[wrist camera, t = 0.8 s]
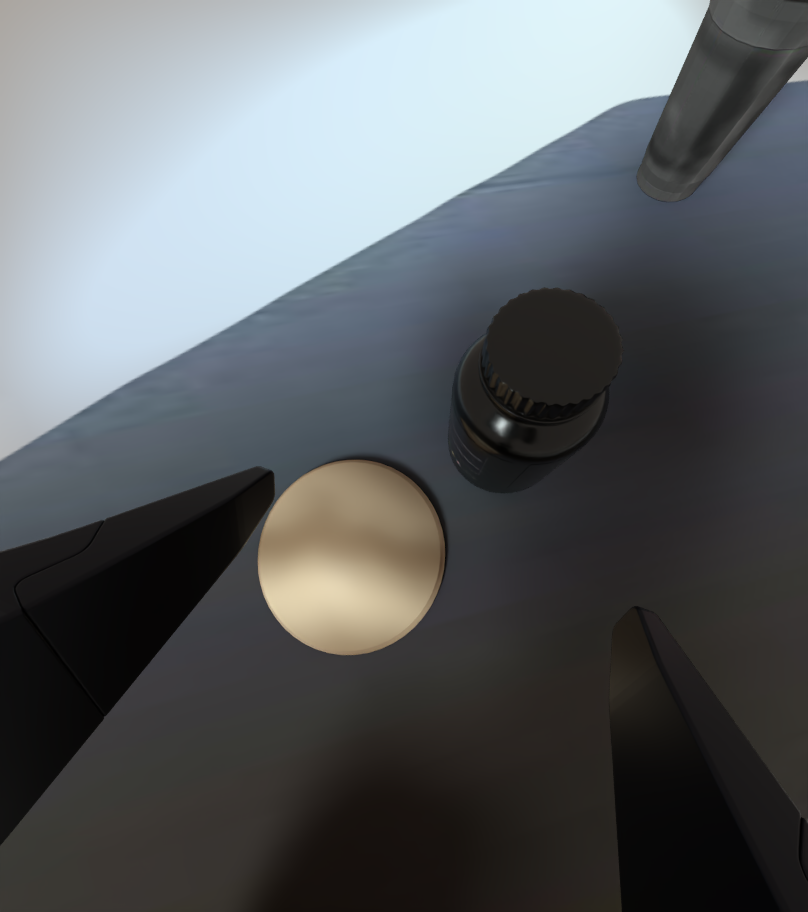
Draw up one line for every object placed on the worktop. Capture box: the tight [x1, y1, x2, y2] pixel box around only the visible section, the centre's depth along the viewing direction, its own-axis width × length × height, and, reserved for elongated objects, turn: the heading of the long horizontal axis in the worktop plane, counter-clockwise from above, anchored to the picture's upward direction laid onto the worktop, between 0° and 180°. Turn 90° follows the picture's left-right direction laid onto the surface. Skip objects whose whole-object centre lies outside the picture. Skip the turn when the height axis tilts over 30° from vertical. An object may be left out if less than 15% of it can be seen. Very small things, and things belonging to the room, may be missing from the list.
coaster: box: [258, 460, 445, 655], centre depth 23 cm, size 12×12×1 cm
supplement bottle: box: [448, 288, 624, 493], centre depth 19 cm, size 7×7×12 cm
